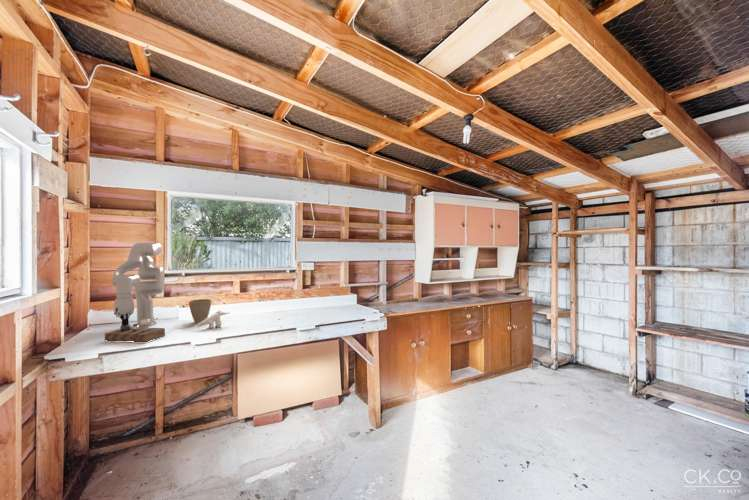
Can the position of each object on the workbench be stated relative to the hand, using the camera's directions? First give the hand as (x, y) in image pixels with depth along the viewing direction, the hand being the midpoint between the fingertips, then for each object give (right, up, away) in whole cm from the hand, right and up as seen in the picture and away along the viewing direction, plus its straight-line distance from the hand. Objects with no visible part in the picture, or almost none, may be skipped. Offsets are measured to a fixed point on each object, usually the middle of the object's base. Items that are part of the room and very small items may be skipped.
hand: (125, 324), depth 195 cm
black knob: (0, -8, +1) cm, 8 cm away
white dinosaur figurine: (+42, -8, +23) cm, 49 cm away
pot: (+7, -4, -1) cm, 8 cm away
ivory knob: (+14, -4, -1) cm, 15 cm away
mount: (+7, -9, 0) cm, 11 cm away
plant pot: (+25, -7, +40) cm, 47 cm away
